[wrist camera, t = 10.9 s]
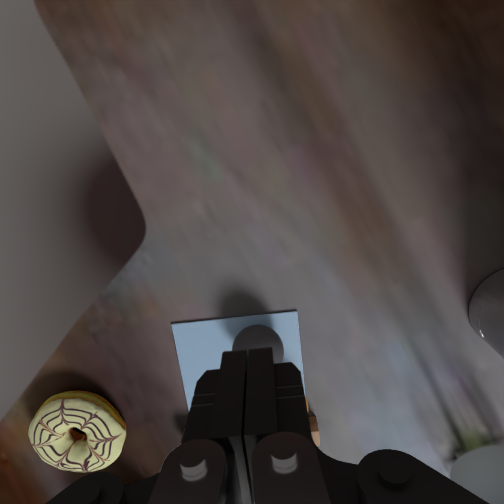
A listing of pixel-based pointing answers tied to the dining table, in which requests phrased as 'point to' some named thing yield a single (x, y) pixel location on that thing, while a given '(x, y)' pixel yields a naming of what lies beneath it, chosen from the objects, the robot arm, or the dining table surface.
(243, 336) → the dark gray ball
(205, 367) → the light blue square plate
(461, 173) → the dining table surface
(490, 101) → the dining table surface
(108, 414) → the decorated donut
